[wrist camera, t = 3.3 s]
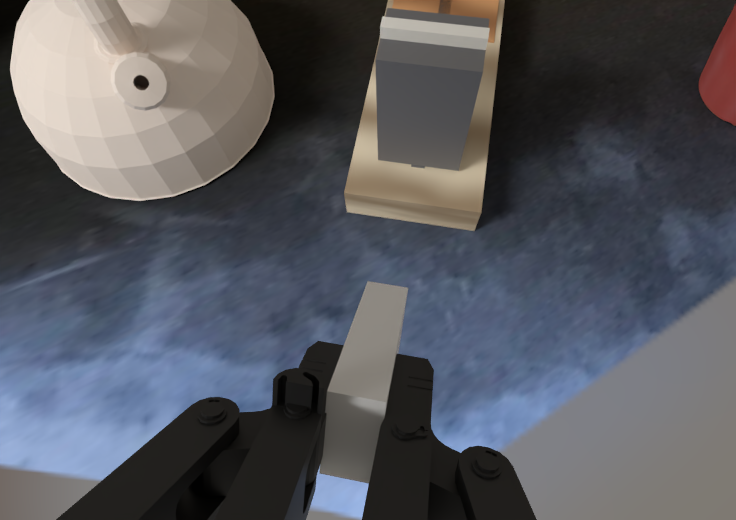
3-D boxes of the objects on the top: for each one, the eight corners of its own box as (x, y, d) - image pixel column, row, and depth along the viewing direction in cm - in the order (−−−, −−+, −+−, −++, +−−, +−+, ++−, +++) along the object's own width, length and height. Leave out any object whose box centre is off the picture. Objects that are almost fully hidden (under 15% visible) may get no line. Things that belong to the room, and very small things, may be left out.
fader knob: (458, 170, 37) (485, 61, 27) (378, 159, 37) (375, 48, 27) (464, 126, 38) (492, 7, 28) (386, 116, 39) (387, -4, 29)
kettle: (90, 249, 39) (-130, 88, 23) (19, 73, 46) (-188, -148, 30) (317, 135, 43) (273, -78, 26) (219, -12, 50) (134, -255, 33)
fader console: (474, 230, 39) (481, 212, 36) (347, 212, 40) (343, 192, 37) (502, -11, 48) (509, -41, 45) (398, -22, 49) (399, -52, 46)
